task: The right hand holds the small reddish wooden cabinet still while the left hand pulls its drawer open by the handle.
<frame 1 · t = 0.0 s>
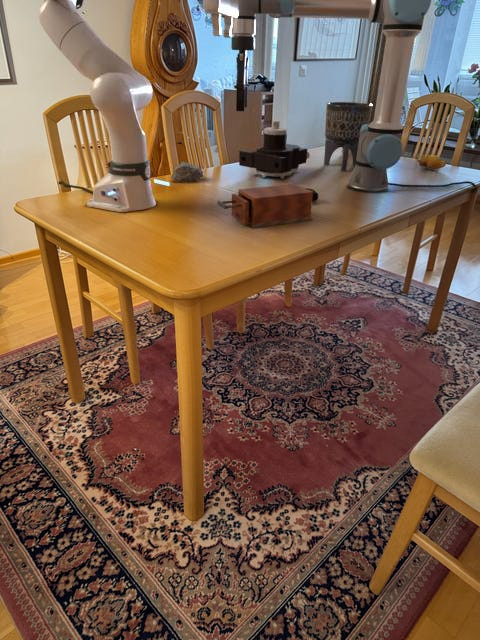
left hand: (222, 37, 121), 48 cm above the table, tool pointing down, fingers open, 8 cm apart
right hand: (241, 109, 155), 28 cm above the table, tool pointing down, fingers open, 13 cm apart
toy: (429, 168, 212), on the table
cabinet: (273, 218, 142), on the table
figurine: (350, 154, 239), on the table
mechanical component: (280, 173, 196), on the table
rock: (188, 180, 182), on the table
drawer: (257, 206, 137), point 4 cm above the table, slide at 1.2 cm
planter: (341, 167, 211), on the table
tape measure: (306, 202, 158), on the table
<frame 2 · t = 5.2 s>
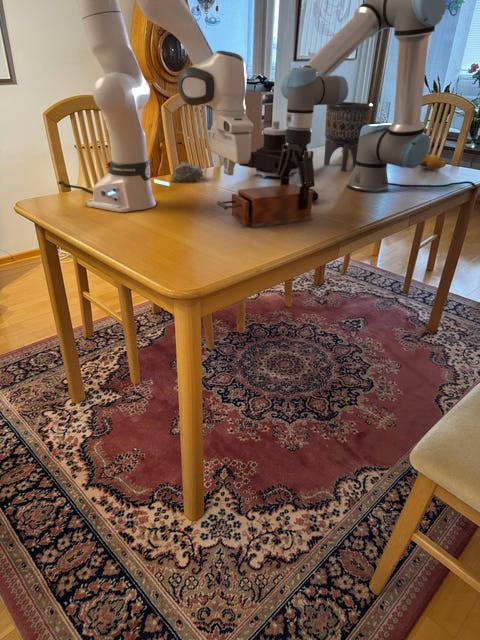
left hand: (228, 174, 128), 15 cm above the table, tool pointing down, fingers closed
right hand: (292, 204, 142), 4 cm above the table, tool pointing down, fingers closed on cabinet, 11 cm apart
cabinet: (273, 218, 142), on the table, touching right hand
everything else where it was.
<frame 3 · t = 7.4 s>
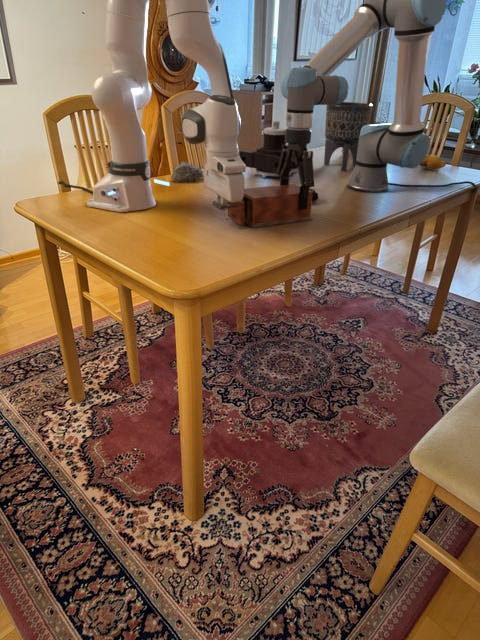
left hand: (222, 209, 133), 5 cm above the table, tool pointing down, fingers closed, pressing on drawer
right hand: (292, 204, 142), 4 cm above the table, tool pointing down, fingers closed on cabinet, 11 cm apart
cabinet: (273, 218, 141), on the table, touching right hand
drawer: (253, 207, 137), point 4 cm above the table, slide at 2.5 cm, touching left hand
everything else where it was.
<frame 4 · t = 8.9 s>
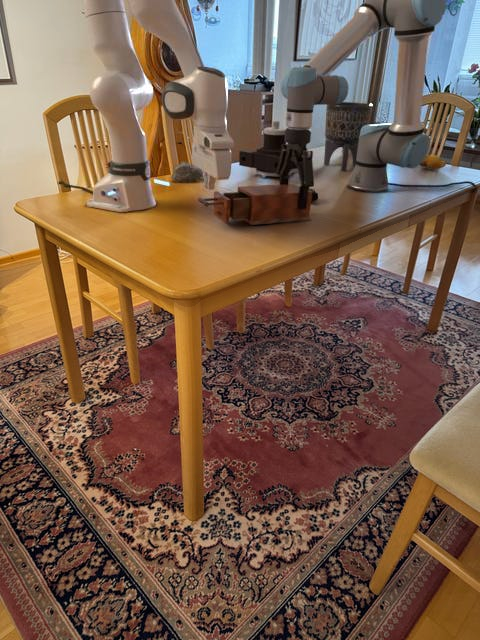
left hand: (209, 188, 128), 11 cm above the table, tool pointing down, fingers closed
right hand: (292, 203, 142), 4 cm above the table, tool pointing down, fingers closed on cabinet, 11 cm apart
cabinet: (272, 217, 141), on the table, touching right hand
drawer: (239, 205, 134), point 5 cm above the table, slide at 6.8 cm
everything else where it was.
when the right hand's fingers open (4 cm above the table, at t = 10.1 s): cabinet stays where it is, on the table.
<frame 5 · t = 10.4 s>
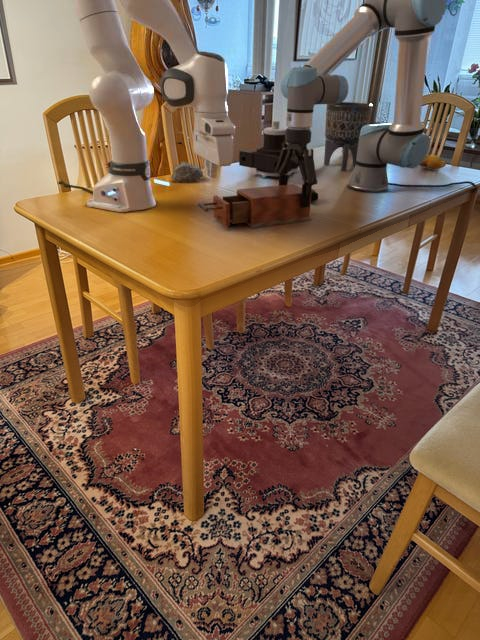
left hand: (211, 176, 126), 14 cm above the table, tool pointing down, fingers closed
right hand: (293, 201, 142), 5 cm above the table, tool pointing down, fingers open, 13 cm apart
cabinet: (272, 218, 141), on the table
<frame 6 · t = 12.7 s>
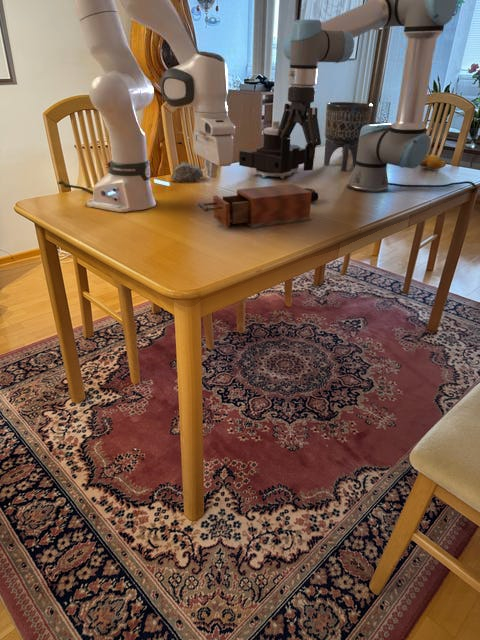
left hand: (211, 176, 126), 14 cm above the table, tool pointing down, fingers closed
right hand: (295, 165, 136), 16 cm above the table, tool pointing down, fingers open, 13 cm apart
nothing on the table moved.
at the end: drawer slide at 6.8 cm; cabinet tilted 0°; cabinet never tilted more than 3° during the clip; cabinet moved 0.4 cm from its start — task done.
